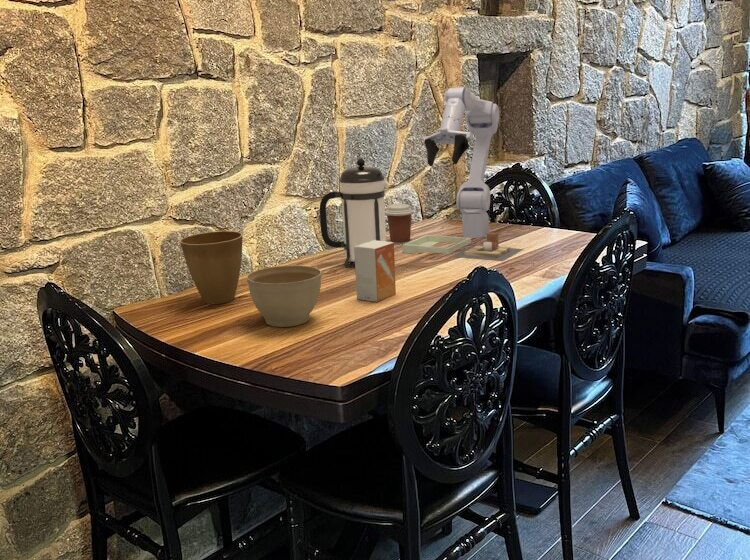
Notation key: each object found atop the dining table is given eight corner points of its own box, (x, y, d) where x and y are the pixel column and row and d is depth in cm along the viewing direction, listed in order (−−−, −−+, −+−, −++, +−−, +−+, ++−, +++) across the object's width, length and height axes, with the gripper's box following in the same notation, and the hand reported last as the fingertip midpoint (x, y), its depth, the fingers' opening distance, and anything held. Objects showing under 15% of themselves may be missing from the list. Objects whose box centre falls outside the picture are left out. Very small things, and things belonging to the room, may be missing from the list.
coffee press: (371, 254, 218) (366, 154, 210) (402, 263, 205) (397, 157, 197) (322, 264, 209) (314, 160, 201) (350, 274, 196) (343, 163, 188)
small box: (377, 302, 169) (374, 248, 165) (356, 299, 172) (353, 246, 169) (396, 294, 175) (394, 241, 172) (375, 290, 179) (373, 239, 175)
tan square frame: (478, 247, 215) (478, 231, 214) (510, 250, 210) (510, 233, 208) (464, 255, 207) (464, 238, 205) (496, 257, 201) (496, 240, 200)
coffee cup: (380, 243, 232) (378, 207, 229) (398, 238, 239) (396, 202, 236) (402, 246, 227) (401, 209, 223) (420, 241, 233) (418, 204, 230)
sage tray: (426, 242, 231) (426, 234, 230) (471, 246, 222) (471, 238, 222) (402, 252, 218) (402, 244, 217) (448, 256, 210) (448, 248, 209)
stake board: (473, 248, 219) (473, 235, 218) (524, 252, 211) (524, 239, 210) (450, 259, 206) (450, 246, 205) (502, 264, 198) (502, 250, 197)
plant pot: (214, 289, 187) (207, 229, 183) (260, 294, 180) (254, 232, 176) (174, 305, 175) (166, 241, 170) (222, 311, 168) (215, 245, 164)
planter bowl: (314, 333, 149) (310, 283, 147) (240, 332, 152) (235, 283, 149) (332, 310, 165) (329, 264, 162) (265, 310, 168) (260, 264, 165)
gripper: (423, 117, 207) (413, 157, 202) (469, 112, 199) (460, 153, 194) (433, 132, 212) (423, 171, 207) (478, 127, 205) (469, 167, 200)
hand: (441, 163), depth 201 cm, fingers open, 7 cm apart
